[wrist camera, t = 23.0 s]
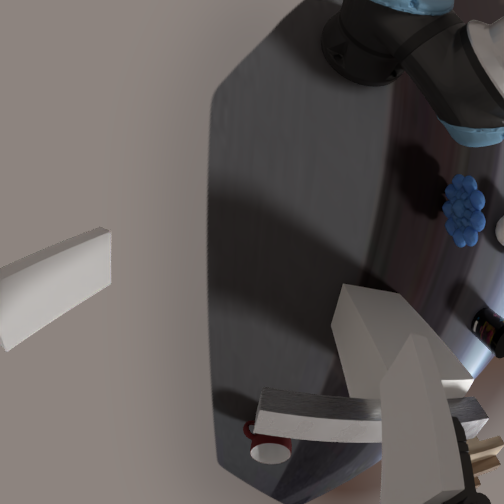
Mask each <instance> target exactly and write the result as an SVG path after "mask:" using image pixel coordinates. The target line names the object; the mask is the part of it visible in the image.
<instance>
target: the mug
mask: <svg viewBox="0 0 504 504" xmlns="http://www.w3.org/2000/svg"><path fill="white" fill-rule="evenodd" d="M249 425H255V421H253V420H251V421H248V422H246V423H245V425H244V427H243V431H244V434H245V435H246V437H248V438H249V439H251V440H252V443H251V450H250V454H251V456H252V458H253V459H255V460H256V461H258V462H261V463H265V464H278V463H282V462H285V461H286V460H288V459H289V458H290V456H291V449H292V444H291V439H290V438H285V437H278V436H271V435H264V434H258V433H255V435H254V434H252V433H251V432H250V430H249Z"/></svg>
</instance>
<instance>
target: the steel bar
mask: <svg viewBox="0 0 504 504" xmlns="http://www.w3.org/2000/svg"><path fill="white" fill-rule="evenodd" d="M447 401H448V405H449V409H450V413H451V416H453V417H457V418H458V420H459V421H460V423H461V424H462V426H463V428H464V431H465V435H466V439H472V438H475V436H476V435H477V434H478V432H479V431H480V430H481V429H482V427H483V426H484V424H485V423H486V422H487V420H488V419H489V417H488V416H487V414H486V413H485V411H484V410H483V408H482V407H481V405H480V404H479V402H478V401H477V400H476V398H475V397H464V398H451V399H447ZM253 433H258V434H264V435H271V436H278V437H285V438H294V439H303V440H314V441H329V442H359V443H369V442H382V419H381V399H362V398H348V397H336V396H326V395H317V394H309V393H301V392H294V391H287V390H281V389H274V388H269V387H263V389H262V393H261V396H260V400H259V404H258V407H257V412H256V418H255V425H254V431H253Z"/></svg>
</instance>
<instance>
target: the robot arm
mask: <svg viewBox="0 0 504 504" xmlns="http://www.w3.org/2000/svg"><path fill="white" fill-rule="evenodd" d="M453 5H454V0H343V3H342V7H341V10H340V12H338V13H337V14H336V15H334V16H333V17H332V18H331V19H330V20H329V21H328V22H327V24H326V25H325V27H324V30H323V33H322V38H321V45H322V50H323V53H324V55H325V57H326V59H327V61H328V62H329V63H330V65H331V66H332V67H333V68H334V69H335V70H336V71H337V72H338V73H340V74H341V75H342V76H344V77H345V78H347V79H349V80H351V81H353V82H355V83H358V84H361V85H366V86H384V85H387V84H390V83H392V82H394V81H395V80H396V79H397V78H398V77H400V76H401V75H402V73H403V72H404V71H406V72H407V74H408V75H409V76H410V78H411V79H412V80H413V82H414V83H415V84H416V86H417V87H418V88H419V90H420V91H421V92H422V94H423V95H424V97H425V98H426V100H427V101H428V102H429V104H430V105H431V107H432V108H433V110H434V111H435V113H436V115H437V118H438V120H440V122H441V123H442V124H444V126H445V127H446V129H447V130H448V132H449V134H450V135H451V137H452V138H453V139H454V140H455V141H456V142H458V143H459V144H461V145H464V146H468V147H482V146H489V145H493V144H497V143H500V142H501V141H502V140H503V139H504V17H502V18H501V19H499V20H497V21H496V22H495V23H493V24H491V25H488V24H485V23H483V22H480V21H477V20H471V21H470V22H468V23H467V24H466V25H465V24H464V23H463V22H462V20H461V19H460V18H459V17H458V16H457V15H456V13H455V12H454V11H453V10H452V8H453ZM110 284H111V231H109V230H107V229H104V228H102V227H99V228H96V229H93V230H91V231H88V232H86V233H83V234H80V235H78V236H75V237H72V238H70V239H67V240H65V241H62V242H60V243H57V244H55V245H52V246H50V247H47V248H45V249H43V250H40V251H38V252H36V253H33V254H31V255H29V256H26V257H24V258H22V259H20V260H17V261H15V262H13V263H11V264H9V265H6V266H4V267H2V268H0V345H1V346H2V347H3V348H4V350H5V351H6V352H8V351H9V350H10V349H12V348H13V347H14V346H16V345H17V344H19V343H20V342H22V341H23V340H25V339H26V338H28V337H29V336H31V335H32V334H34V333H35V332H37V331H38V330H40V329H41V328H43V327H44V326H46V325H47V324H48V323H50V322H52V321H53V320H55V319H56V318H58V317H59V316H61V315H62V314H64V313H65V312H67V311H68V310H70V309H72V308H73V307H75V306H76V305H78V304H80V303H81V302H83V301H84V300H86V299H87V298H89V297H91V296H92V295H94V294H95V293H97V292H98V291H100V290H102V289H104V288H105V287H107V286H108V285H110ZM380 398H381V419H382V475H381V495H380V504H491V503H490V500H489V499H488V498H487V496H486V495H484V494H482V493H477V492H476V488H475V481H474V474H473V468H472V463H471V458H470V454H468V453H469V448H468V444H466V442H467V439H466V435H465V431H464V428H463V426H462V424H461V423H460V421H459V420H458V418H457V417H453V416H451V413H450V409H449V405H448V401H447V398H446V394H445V391H444V387H443V384H442V381H441V378H440V374H439V371H438V368H437V365H436V362H435V359H434V356H433V353H432V351H431V348H430V345H429V342H428V340H427V337H424V336H420V335H417V334H413V333H410V335H409V337H408V339H407V340H406V342H405V344H404V346H403V347H402V349H401V351H400V352H399V354H398V356H397V357H396V359H395V360H394V362H393V364H392V365H391V367H390V368H389V370H388V371H387V373H386V374H385V376H384V377H383V379H382V380H381V382H380Z"/></svg>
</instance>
